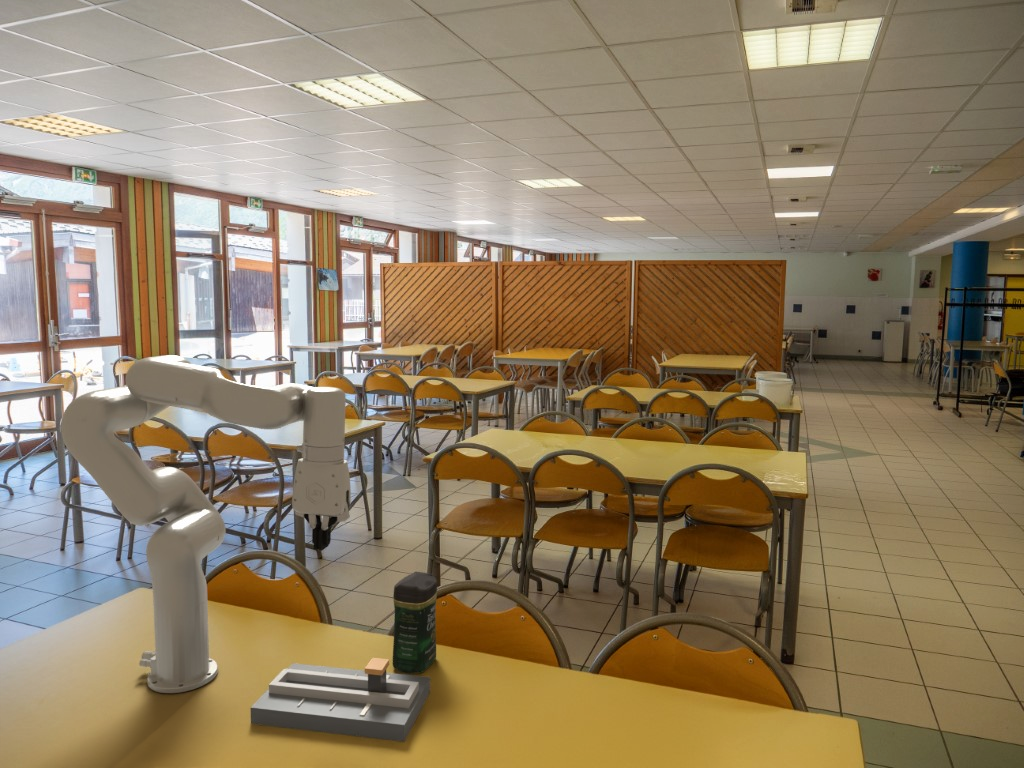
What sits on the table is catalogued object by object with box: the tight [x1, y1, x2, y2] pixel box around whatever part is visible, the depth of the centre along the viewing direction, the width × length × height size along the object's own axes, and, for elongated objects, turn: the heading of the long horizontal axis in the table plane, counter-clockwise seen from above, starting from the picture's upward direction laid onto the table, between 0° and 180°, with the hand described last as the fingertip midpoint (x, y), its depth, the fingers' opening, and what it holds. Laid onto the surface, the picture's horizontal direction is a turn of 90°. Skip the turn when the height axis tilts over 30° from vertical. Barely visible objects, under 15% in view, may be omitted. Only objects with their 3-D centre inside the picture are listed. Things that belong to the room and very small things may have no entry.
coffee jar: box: [392, 571, 438, 675], centre depth 146 cm, size 10×8×19 cm
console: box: [250, 662, 431, 743], centre depth 131 cm, size 28×16×5 cm, turn 81°
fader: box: [364, 657, 390, 693], centre depth 129 cm, size 3×4×6 cm
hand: (321, 547), depth 136 cm, fingers closed
